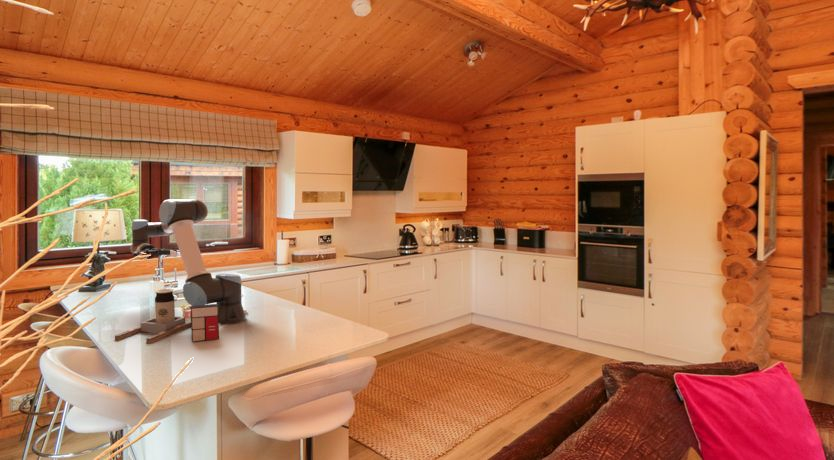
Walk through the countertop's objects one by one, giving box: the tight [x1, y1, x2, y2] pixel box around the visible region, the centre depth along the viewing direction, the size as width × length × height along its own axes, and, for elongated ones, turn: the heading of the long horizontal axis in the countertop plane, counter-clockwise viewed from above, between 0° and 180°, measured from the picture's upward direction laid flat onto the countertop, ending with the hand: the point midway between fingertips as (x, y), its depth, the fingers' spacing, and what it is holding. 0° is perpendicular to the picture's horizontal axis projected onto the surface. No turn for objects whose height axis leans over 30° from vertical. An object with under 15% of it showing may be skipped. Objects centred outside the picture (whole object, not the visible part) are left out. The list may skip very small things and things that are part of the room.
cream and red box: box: [190, 303, 220, 343], centre depth 214 cm, size 11×4×15 cm, turn 114°
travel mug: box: [154, 288, 176, 324], centre depth 229 cm, size 8×8×18 cm
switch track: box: [114, 321, 191, 344], centre depth 223 cm, size 18×26×2 cm
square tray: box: [140, 315, 187, 334], centre depth 228 cm, size 13×13×4 cm
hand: (161, 255), depth 243 cm, fingers open, 13 cm apart
